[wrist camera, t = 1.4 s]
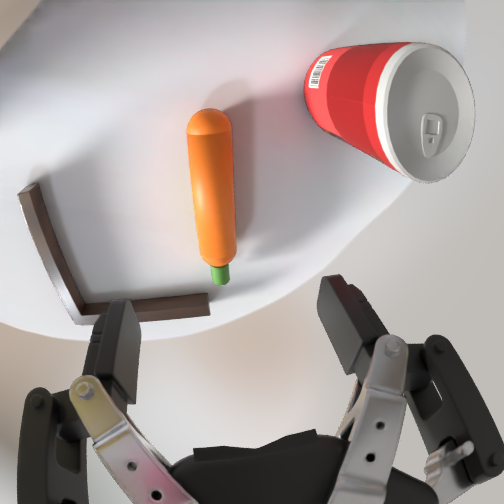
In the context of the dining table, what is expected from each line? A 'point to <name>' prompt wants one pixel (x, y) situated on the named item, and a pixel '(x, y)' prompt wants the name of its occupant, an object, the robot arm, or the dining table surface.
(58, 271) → the corner guide
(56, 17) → the dining table surface
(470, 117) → the canned food
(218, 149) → the carrot
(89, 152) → the dining table surface
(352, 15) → the dining table surface
